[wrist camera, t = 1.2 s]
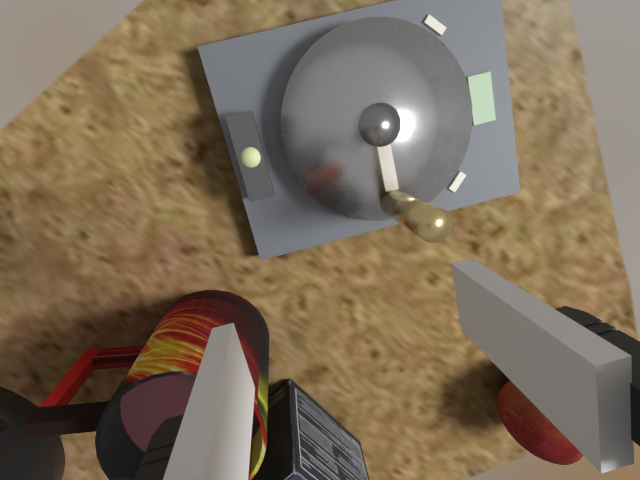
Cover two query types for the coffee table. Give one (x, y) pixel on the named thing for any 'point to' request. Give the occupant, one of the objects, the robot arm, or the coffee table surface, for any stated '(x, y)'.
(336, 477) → the small box
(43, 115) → the coffee table surface
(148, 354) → the mug
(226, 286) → the coffee table surface
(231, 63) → the record turntable
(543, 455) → the apple
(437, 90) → the crank wheel
